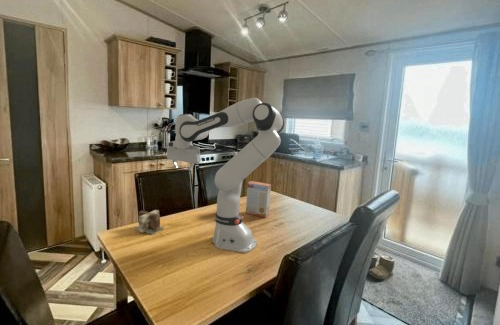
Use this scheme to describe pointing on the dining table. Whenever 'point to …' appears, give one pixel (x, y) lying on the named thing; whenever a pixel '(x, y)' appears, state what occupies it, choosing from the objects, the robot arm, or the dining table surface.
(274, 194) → the dining table surface
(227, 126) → the robot arm
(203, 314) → the dining table surface
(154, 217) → the walnut slotted plate
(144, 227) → the maple slotted plate
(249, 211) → the cracker box
